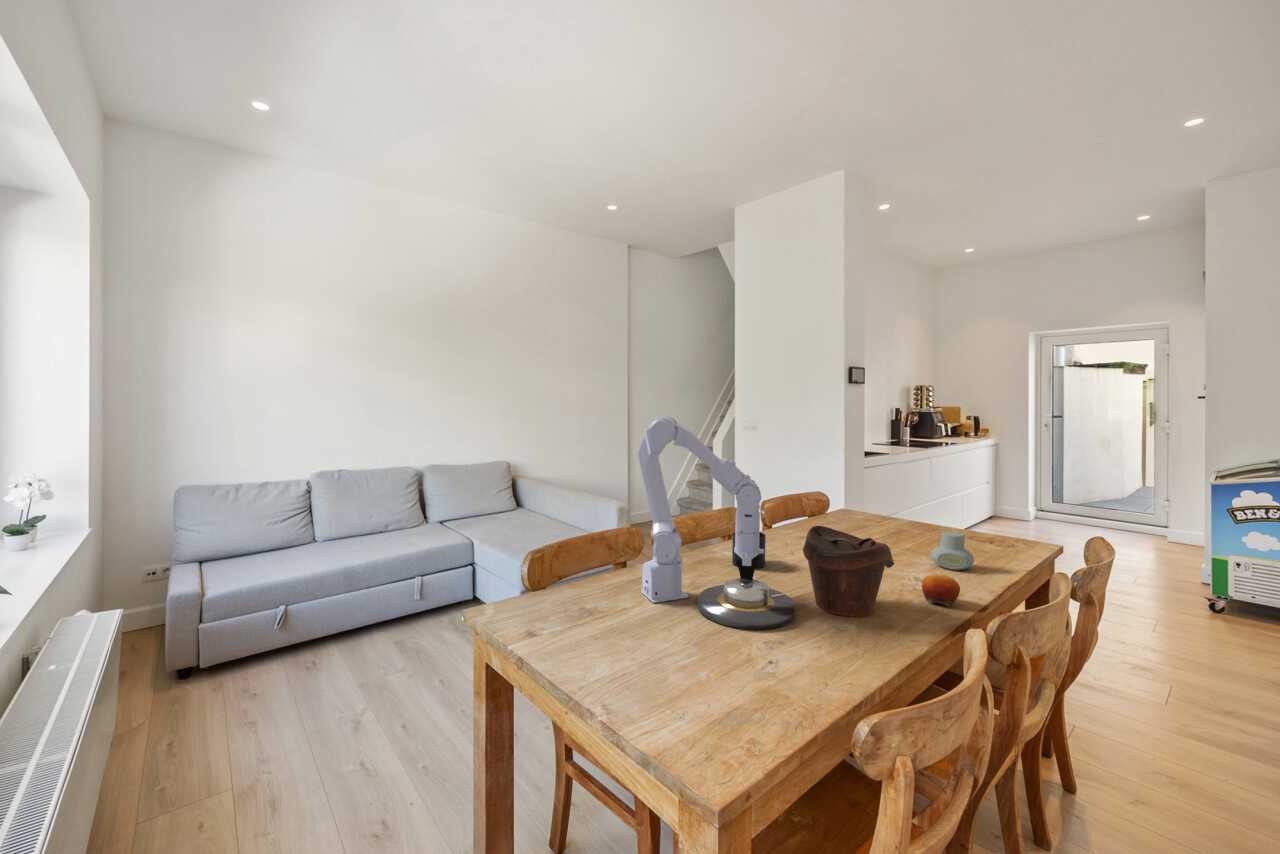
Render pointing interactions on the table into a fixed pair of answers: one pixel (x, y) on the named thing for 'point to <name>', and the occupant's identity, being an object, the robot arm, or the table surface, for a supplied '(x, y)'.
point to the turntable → (746, 610)
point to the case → (845, 570)
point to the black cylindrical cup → (761, 556)
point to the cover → (746, 593)
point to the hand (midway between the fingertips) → (746, 586)
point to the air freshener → (952, 552)
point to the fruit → (940, 589)
